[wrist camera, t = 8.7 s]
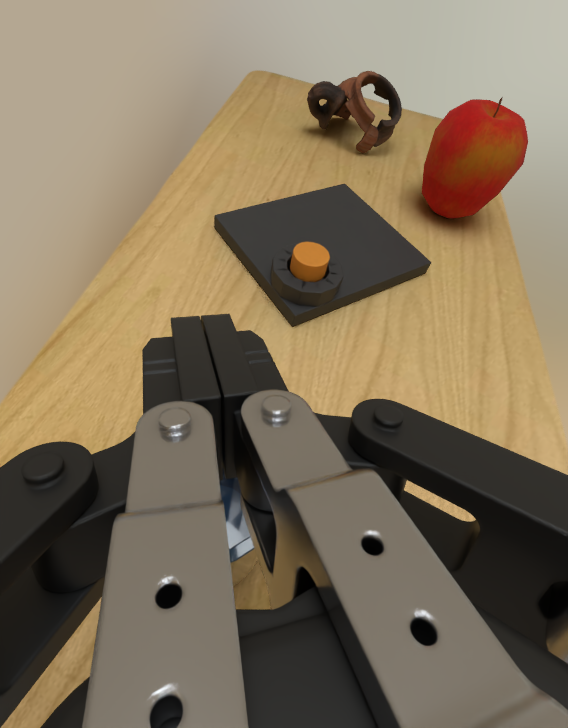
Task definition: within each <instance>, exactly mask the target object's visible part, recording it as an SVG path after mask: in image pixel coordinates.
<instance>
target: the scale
mask: <svg viewBox="0 0 568 728" xmlns="http://www.w3.org/2000/svg"><path fill="white" fill-rule="evenodd" d="M214 227H215V229H216V230H217V231H218V233H219V234H220V235H221V236H222V238H223V239H224V240H225V241H226V243H227V244H228V245H229V247H230V248H231V249H232V250H233V252H234V253H235V254H236V255H237V257H238V258H239V259H240V261H241V262H242V263H243V264H244V266H245V267H246V268H247V269H248V271H249V272H250V273H251V275H252V276H253V277H254V278H255V280H256V281H257V282H258V283H259V285H260V286H261V287H262V289H263V290H264V291H265V292H266V294H267V295H268V296H269V297H270V299H271V300H272V301H273V303H274V304H275V305H276V306H277V308H278V309H279V310H280V311H281V313H282V314H283V315H284V317H285V318H286V319H287V320H288V322H289V323H290V324H291V325H292V326H295V325H298V324H300V323H303V322H305V321H308V320H310V319H313V318H315V317H318V316H320V315H323V314H325V313H328V312H330V311H333V310H335V309H338V308H340V307H343V306H345V305H347V304H350V303H352V302H355V301H357V300H360V299H362V298H365V297H367V296H370V295H372V294H375V293H377V292H380V291H382V290H385V289H387V288H390V287H392V286H395V285H397V284H400V283H402V282H404V281H407V280H409V279H412V278H414V277H417V276H419V275H422V274H424V273H426V271H427V269H428V268H429V266H430V264H431V262H430V261H429V260H428V259H427V258H426V257H425V256H424V255H423V254H422V253H420V252H419V251H418V250H417V249H416V248H415V247H414V246H413V245H412V244H411V243H409V242H408V241H407V240H406V239H405V238H404V237H403V236H402V235H401V234H399V233H398V232H397V231H396V230H395V229H394V228H393V227H392V226H391V225H390V224H388V223H387V222H386V221H385V220H384V219H383V218H382V217H381V216H380V215H379V214H377V213H376V212H375V211H374V210H373V209H372V208H371V207H370V206H369V205H368V204H366V203H365V202H364V201H363V200H362V199H361V198H360V197H359V196H358V195H357V194H355V193H354V192H353V191H352V190H351V189H350V188H349V187H348V186H347V185H346V184H341V185H337V186H333V187H329V188H325V189H321V190H316V191H312V192H308V193H304V194H300V195H296V196H292V197H288V198H284V199H279V200H275V201H271V202H267V203H263V204H259V205H255V206H251V207H247V208H243V209H238V210H234V211H230V212H226V213H222V214H218V215H215V218H214ZM302 242H314V243H317V244H320V245H322V246H323V247H324V248H326V250H327V251H328V252H329V255H330V259H329V262H328V266H327V269H326V272H325V275H324V277H323V278H322V279H321V280H319V281H317V282H305V281H302V280H300V279H298V278H296V277H295V276H294V275H293V274H292V273H291V270H290V264H291V259H292V254H293V249H294V247H295V246H296V245H297V244H299V243H302Z"/></svg>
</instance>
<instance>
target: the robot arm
mask: <svg viewBox="0 0 568 728" xmlns="http://www.w3.org/2000/svg"><path fill="white" fill-rule="evenodd" d="M171 328H172V337H163V338H151V339H150V341H149V342H148V343H147V345H146V346H145V347H144V349H143V415H142V417H141V418H140V419H139V421H138V423H137V426H136V431H135V432H134V433H133V434H132V435H131V436H130V437H129V438H127V439H126V440H124V441H123V442H121V443H119V444H117V445H115V446H113V447H110V448H108V449H105V450H102V451H100V452H97V453H94V454H92V455H91V454H90V452H89V451H88V450H87V449H86V448H85V447H83V446H81V445H79V444H76V443H72V442H51V443H46V444H42V445H39V446H36V447H33V448H31V449H28V450H26V451H24V452H22V453H20V454H19V455H17V456H16V457H14V458H13V459H11V460H10V461H9V462H7V463H6V464H5V465H3V466H2V467H1V468H0V728H1V726H2V725H3V724H4V722H5V721H6V720H7V719H8V717H9V716H10V715H11V713H12V712H13V711H14V710H15V708H16V707H17V706H18V704H19V703H20V702H21V700H22V699H23V698H24V697H25V695H26V694H27V693H28V691H29V690H30V689H31V687H32V686H33V685H34V684H35V682H36V681H37V680H38V678H39V677H40V676H41V675H42V673H43V672H44V671H45V669H46V668H47V667H48V665H49V664H50V663H51V662H52V660H53V659H54V658H55V656H56V655H57V654H58V652H59V651H60V650H61V649H62V647H63V646H64V645H65V643H66V642H67V641H68V640H69V638H70V637H71V636H72V634H73V633H74V632H75V630H76V629H77V628H78V627H79V625H80V624H81V623H82V621H83V620H84V619H85V617H86V616H87V615H88V614H89V612H90V611H91V610H92V608H93V607H94V606H95V605H96V603H97V602H98V601H99V599H100V598H101V597H102V601H101V607H100V614H99V620H98V627H97V633H96V640H95V646H94V653H93V660H92V666H91V673H90V677H89V678H87V679H86V680H85V681H84V682H83V683H82V684H81V685H79V686H78V687H77V688H76V689H75V690H74V691H73V692H72V693H71V694H70V695H69V696H68V697H67V698H66V699H65V700H64V701H63V702H62V703H61V704H60V705H59V706H58V707H57V708H56V709H55V710H54V712H53V713H52V714H51V715H50V717H49V718H48V719H47V720H46V722H45V723H44V724H43V725H42V726H41V728H568V475H566V474H564V473H561V472H559V471H557V470H554V469H552V468H550V467H547V466H545V465H543V464H540V463H538V462H536V461H533V460H531V459H529V458H526V457H524V456H522V455H519V454H517V453H515V452H512V451H510V450H508V449H505V448H503V447H501V446H498V445H496V444H494V443H491V442H489V441H487V440H484V439H482V438H480V437H477V436H475V435H473V434H470V433H468V432H466V431H463V430H461V429H459V428H456V427H454V426H452V425H449V424H447V423H445V422H442V421H440V420H438V419H435V418H433V417H431V416H428V415H426V414H424V413H421V412H419V411H417V410H414V409H412V408H409V407H407V406H405V405H402V404H400V403H397V402H395V401H391V400H386V399H370V400H366V401H363V402H361V403H359V404H358V405H357V406H356V407H355V408H354V410H353V412H352V417H340V416H329V415H322V414H318V413H314V412H313V411H312V409H311V408H310V406H309V405H308V404H307V402H306V401H305V400H304V399H303V398H301V397H300V396H298V395H296V394H294V393H291V392H289V391H288V389H287V387H286V385H285V383H284V381H283V379H282V377H281V375H280V373H279V371H278V369H277V367H276V365H275V363H274V362H273V359H272V357H271V355H270V353H269V352H268V349H267V347H266V345H265V343H264V341H263V339H262V338H260V337H259V336H258V335H256V334H255V333H254V332H252V331H251V330H248V331H236V329H235V326H234V324H233V321H232V319H231V316H230V314H219V315H204V316H201V320H200V317H199V316H191V317H176V318H171ZM222 464H223V466H222ZM223 469H224V473H225V478H226V479H231V478H236V477H238V481H239V485H240V506H241V510H242V513H243V516H244V519H245V522H246V525H247V528H248V531H249V534H250V537H251V540H252V543H253V546H254V549H255V552H256V554H257V557H258V560H259V563H260V566H261V569H262V572H263V575H264V578H265V581H266V584H267V588H268V593H269V598H270V606H271V610H236V609H235V600H234V591H233V582H232V573H231V564H230V554H229V545H228V536H227V527H226V518H225V509H224V503H223V500H221V491H220V482H219V481H220V480H223ZM407 480H408V481H410V482H412V483H414V484H416V485H418V486H420V487H422V488H424V489H426V490H428V491H430V492H432V493H434V494H435V495H437V496H439V497H441V498H443V499H445V500H447V501H449V502H451V503H453V504H455V505H457V506H459V507H461V508H463V509H465V510H466V511H468V512H469V513H470V514H472V515H473V516H474V517H475V519H476V520H475V521H472V522H466V521H462V520H459V519H457V518H455V517H453V516H451V515H449V514H448V513H446V512H444V511H442V510H440V509H438V508H436V507H434V506H432V505H431V504H429V503H427V502H425V501H423V500H421V499H419V498H417V497H415V496H414V495H412V494H410V493H408V492H406V491H404V487H405V484H406V481H407Z"/></svg>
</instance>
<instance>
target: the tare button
mask: <svg viewBox="0 0 568 728" xmlns="http://www.w3.org/2000/svg"><path fill="white" fill-rule="evenodd" d="M329 259H330V255H329V252H328V251H327V250H326V248H324V247H323V246H322V245H320V244H317V243H314V242H302V243H299V244H297V245H296V246H295V247H294V249H293V254H292V259H291V264H290V270H291V273H292V274H293V275H294V276H295V277H296V278H298V279H300V280H302V281H305V282H317V281H319V280H321V279H322V278H323V277H324V275H325V272H326V269H327V266H328V262H329Z"/></svg>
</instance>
